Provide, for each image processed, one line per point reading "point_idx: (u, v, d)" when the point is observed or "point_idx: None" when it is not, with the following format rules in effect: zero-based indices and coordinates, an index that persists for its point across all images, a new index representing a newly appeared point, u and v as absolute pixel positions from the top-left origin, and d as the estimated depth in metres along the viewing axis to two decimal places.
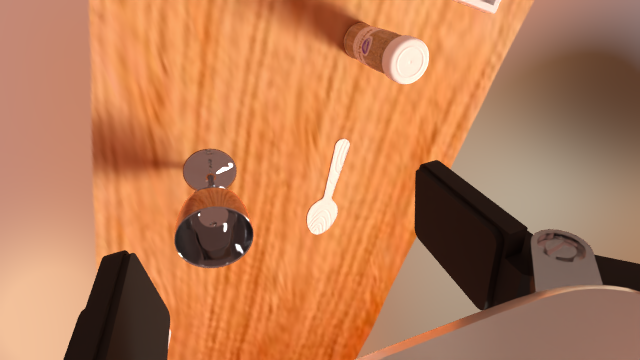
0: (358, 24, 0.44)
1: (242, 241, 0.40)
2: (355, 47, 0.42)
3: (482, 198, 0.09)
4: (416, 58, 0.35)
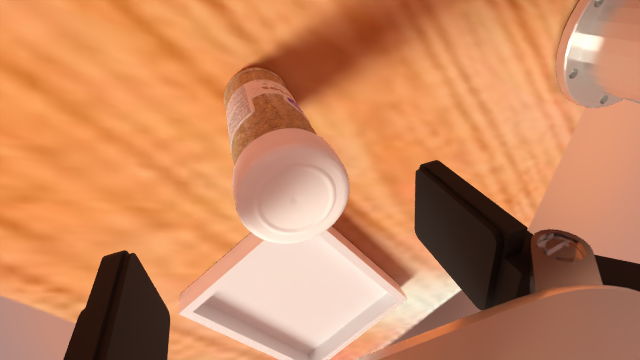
0: None
1: None
2: (282, 87, 0.20)
3: (482, 198, 0.09)
4: (295, 216, 0.14)
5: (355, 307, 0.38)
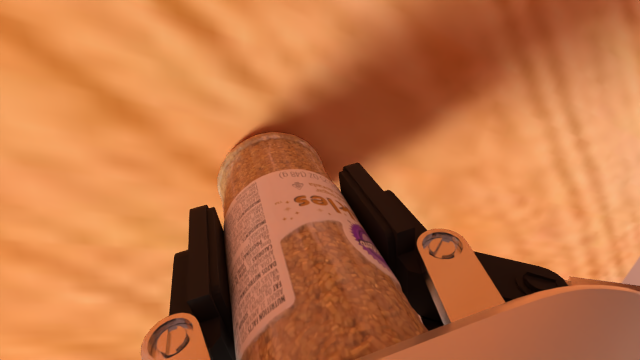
0: None
1: None
2: (327, 184, 0.11)
3: (385, 199, 0.10)
4: None
5: None
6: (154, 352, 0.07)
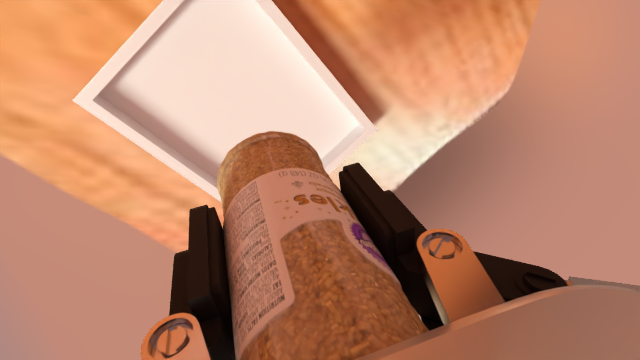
0: None
1: None
2: (326, 183, 0.11)
3: (385, 199, 0.10)
4: None
5: (316, 146, 0.31)
6: (154, 352, 0.07)
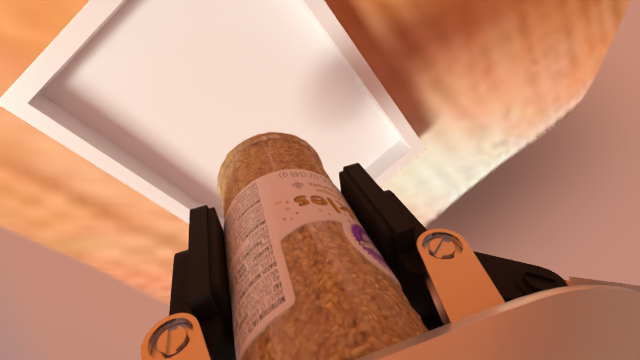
0: None
1: None
2: (327, 184, 0.11)
3: (385, 199, 0.10)
4: None
5: None
6: (154, 352, 0.07)
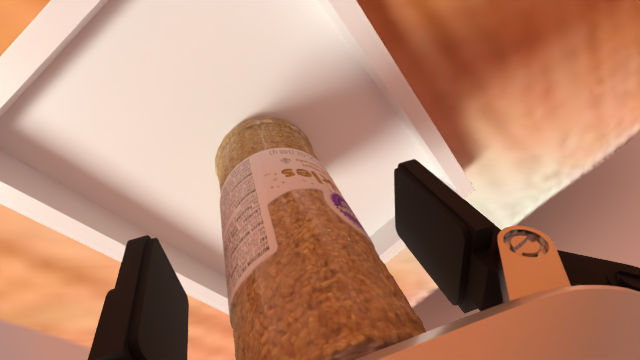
0: None
1: None
2: (312, 161, 0.12)
3: (454, 196, 0.10)
4: None
5: (372, 211, 0.20)
6: None
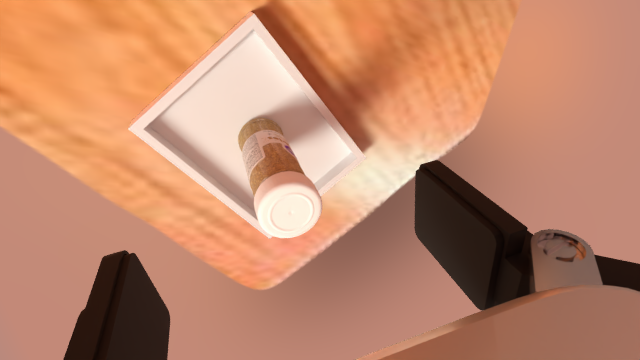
0: None
1: None
2: (280, 135, 0.30)
3: (482, 198, 0.09)
4: (290, 222, 0.24)
5: (315, 168, 0.38)
6: None
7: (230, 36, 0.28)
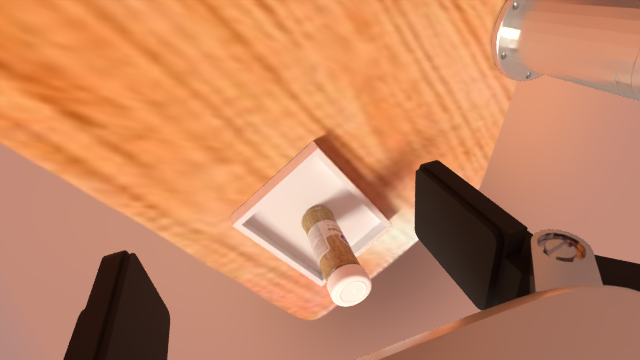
0: None
1: None
2: (335, 224, 0.43)
3: (482, 198, 0.09)
4: (351, 297, 0.36)
5: (354, 234, 0.51)
6: None
7: (302, 163, 0.40)
